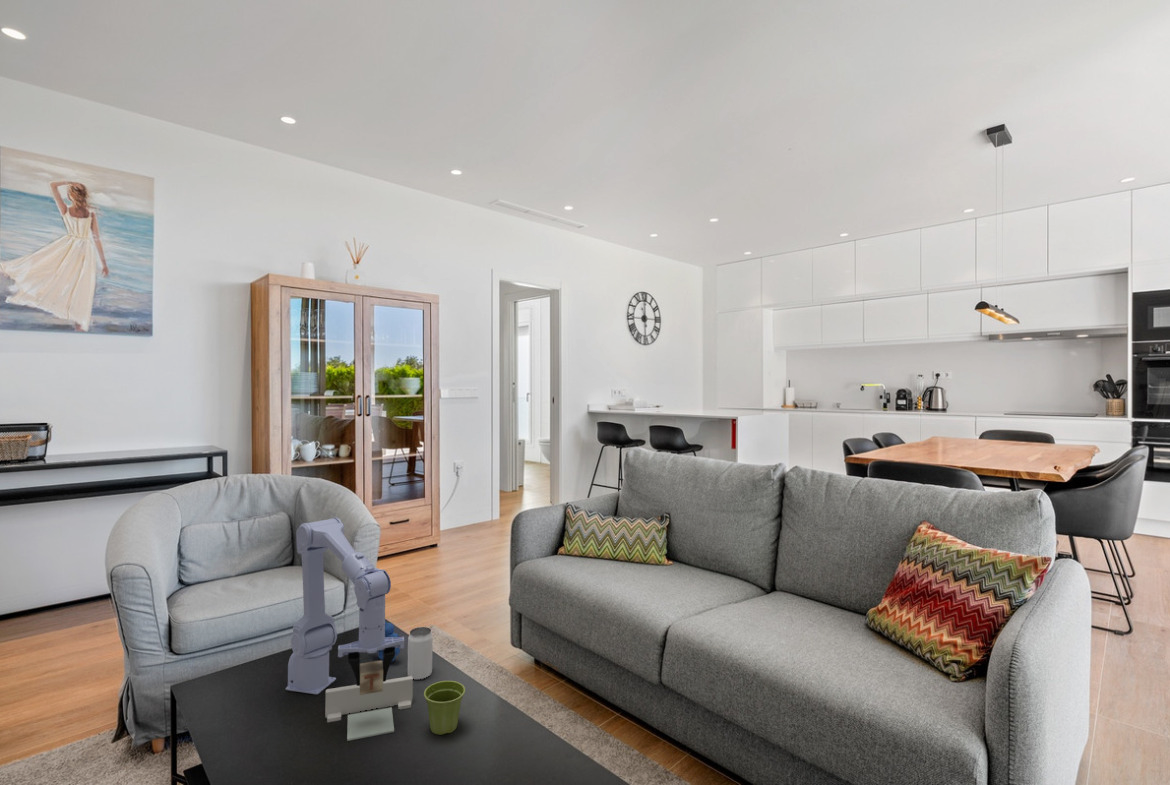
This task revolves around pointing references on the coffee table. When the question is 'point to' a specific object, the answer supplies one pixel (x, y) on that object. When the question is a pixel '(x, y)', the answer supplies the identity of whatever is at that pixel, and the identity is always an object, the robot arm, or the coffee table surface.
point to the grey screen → (368, 698)
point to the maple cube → (371, 677)
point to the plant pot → (444, 705)
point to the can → (420, 653)
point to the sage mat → (370, 724)
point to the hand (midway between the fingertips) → (371, 681)
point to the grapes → (389, 633)
